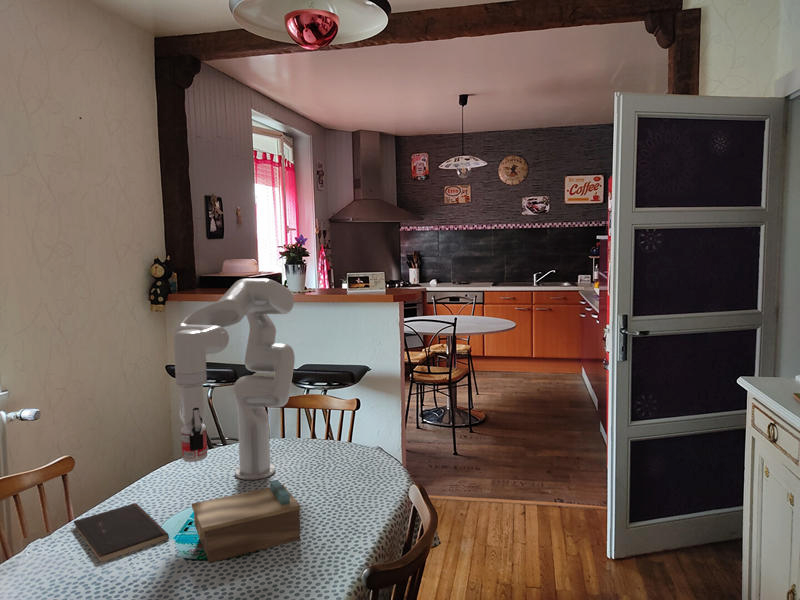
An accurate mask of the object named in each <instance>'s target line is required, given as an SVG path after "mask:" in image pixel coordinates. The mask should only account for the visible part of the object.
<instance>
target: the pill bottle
mask: <svg viewBox="0 0 800 600" xmlns="http://www.w3.org/2000/svg"><path fill="white" fill-rule="evenodd" d="M191 423H195V422H194V421H191ZM201 424H202V433H203V449H200V450H194V451H191V450H190V438H189V435H191V434H190V424H187V425H184V424H183V426H181V429H180V439H181V455H182V459H183V461H184V462H187V463H195V462H199V461H203V460H205V459H206V458H207V457H208V442H207V427H206V425H205V424H204V422H203V423H201ZM193 427H195V425H194V426H193Z"/></svg>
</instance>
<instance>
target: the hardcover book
mask: <svg viewBox="0 0 800 600" xmlns="http://www.w3.org/2000/svg"><path fill="white" fill-rule="evenodd" d="M73 524H74V525H75V529H76V530H77V531H78V532H79V534H80V535H81V536H82V538H83V540H84V541H85V542H86V544H87V545H88V546H89V547H90V549H91V550H92V552H93V553H94V555H95V556H96V558H97V559H98V560H99V561H100V562H101V563H104V562H106V561H108V560H111V559H114V558H117V557H120V556H123V555H126V554H128V553H129V554H130V553H132V552H134V551H138V550H140V549H141V550H142V549H143V548H146V547H149V546H151V545H155V544H157V543H161V542H164V541H166V539H167V540H170V539H169V538H170V536H169V533H168V532H167V531H166V530H165V529H164V528H162V526H160V525H159V523H157V521H156V520H154V518H152V517H151V515H150V514H149V513H147V512H146V511H145V510H144V509H143V508H142V507H141V506H140V505H139V504H138V502H137V503H136V502H134V503H130V504H127V505H124V506H121V507H118V508H114V509H110V510H108V511H104V512H100V513H97V514H93V515H90V516H87V517H82V518H79V519H76V520H74V521H73Z"/></svg>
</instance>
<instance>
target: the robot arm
mask: <svg viewBox="0 0 800 600" xmlns="http://www.w3.org/2000/svg"><path fill="white" fill-rule="evenodd" d="M294 301H295V299H294V295H293V293H292V291H291V290H290V288H288V287H287V286H285V285H283V284H281V283H279V282H278V281H275V280H273V279H270V278H240V279H239V280H236V281H235V282H234V283H233V284H232V285H231V286H230V288H229V289H227V291H226V292H225V293H224V294H223V295H222V296H221V297H220V299H218V301H216V302H213V303H210V304H207V305H205V306H203V307H201V308H199V309H197V310H195V311H193V312H191V313H189V314H188V315H187V316H186V317H185V318H184V319H183V320H182V321H181V322H180V323H179V325H177V327H176V328H175V330H174V333H173V337H172V342H173V348H174V349H173V350H174V353H173V354H174V369H175V370H174V371H175V372H174V373H175V386H177V387H179V397H178V398H179V399H178V400H179V417H180V420H181V422H182V424H183V426H184V425H187V424H190V434H191V435H189V438H190V450H191V451H194V450H200V449H203V433H202V424H201V423H203V424H204V421H205V403H204V402H205V399H204V397H205V396H204V385H206V384H207V383H208V379H207V378H208V377H207V376H208V375H207V355H213V354H214V355H215V354H219V353H221V352H223V351H224V350H225V349H226V348H227V347H228V344H229V339H230V338H229V337H230V336H229V332H228V331H227V329H225V328H226V327H230V326H233V325H236V324H238V323H239V322H241V321H242V320H243V318H244V317H245V316H246V317H247V321H248V324H249V326H248V327H249V332H248V338H247V344H246V349H245V353H244V354H245V355H244V365H245V368H246V369H247V370H248V371H250V372H253V373H254V372H255V373H269V374H271V373H272V374H274V376H270V375H254V374H252V375H250V374H249V375H244V376H241V377H239V378H238V379H236V381H235V383H234V385H233V386H234V387H233V395H234V400H235V406H236V410H237V425H238V452H239V453H238V456H239V466H238V467H236V469H235V470H234V475H235V476H236V478H238V479H240V480H246V481H253V480H254V481H255V480H261V479H265V478H268V477H270V476H271V475H272V476H273V474H275V472H276V466H275V464H273V463H271V449H270V448H271V446H270V419H269V414H268V413H267V410H266V408H282V407H284V406H286V405H287V404H288V401H289V398H290V395H291V389H292V381H293V374H294V369H295V363H296V362H295V359H296V358H295V352H294V349H293V347H292V346H291V345H290V344H286V343H279V342H278V343H276V342H275V341H276V334H277V329H276V325H275V324H274V321H273V320H272V319H271V317H269V315H286V314H288V313H290V312H291V311H292V310H293V308H294ZM191 421H194V422H195V423H191ZM194 425H195V427H193V426H194Z"/></svg>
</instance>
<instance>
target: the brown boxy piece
mask: <svg viewBox="0 0 800 600" xmlns="http://www.w3.org/2000/svg"><path fill="white" fill-rule="evenodd" d="M300 510H301V508H300V509H299V510H294V511H290V512H286V513H282V514H277V515H273V516H269V517H264V518H260V519H256V520H252V521H247V522H243V523H239V524H235V525H230V526H226V527H222V528H217V529H213V530H209V531H205V532H204V534H205V538H203V539H199V538H200V537H199V536H198V539H199V541H201V542H200V544H201V543H202V544H201V546H203V547H202V549H203V548H204V550H203V552H204V551H205V552H204V554H205V553H206V555H205V557H206V556H207V557H206V560H207V559H208V560H207V561H208V562H207V563H208V564H211V563H215V562H218V561H219V562H220V561H222V560H226V559H227V560H228V559H230V558H235V557H239V556H242V554H243V555H246V553H247V554H249V552H250V553H255V552H258V551H260V550H265V549H268V548H272V547H276V546H281V545H284V544H288V543H292V542H296V541H299V540H300V541H301V515H300V514H301V511H300ZM256 550H257V551H256ZM238 555H239V556H238Z"/></svg>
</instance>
